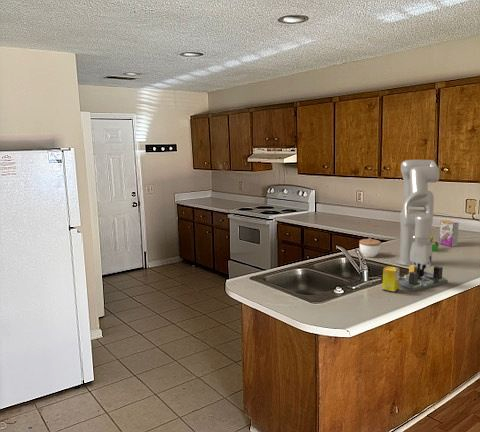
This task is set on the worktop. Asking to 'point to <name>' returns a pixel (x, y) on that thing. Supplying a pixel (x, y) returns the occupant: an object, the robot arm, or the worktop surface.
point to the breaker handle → (412, 268)
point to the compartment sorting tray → (422, 280)
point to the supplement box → (390, 279)
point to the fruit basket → (434, 245)
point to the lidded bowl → (369, 247)
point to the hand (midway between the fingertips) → (420, 276)
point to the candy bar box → (448, 233)
